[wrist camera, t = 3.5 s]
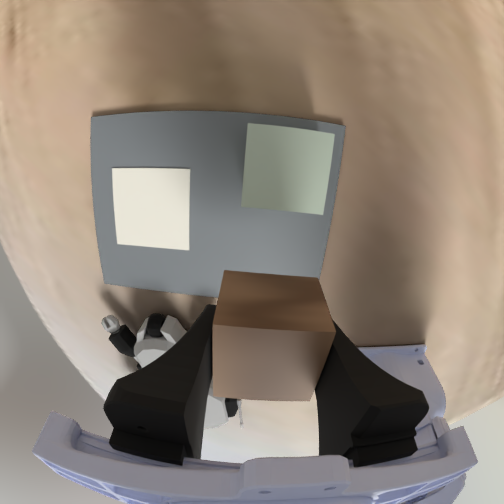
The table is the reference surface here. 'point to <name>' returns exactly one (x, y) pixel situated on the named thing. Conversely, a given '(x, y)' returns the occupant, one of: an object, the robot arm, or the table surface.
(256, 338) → the walnut block
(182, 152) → the board
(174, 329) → the robot toy
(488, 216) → the table surface
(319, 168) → the sage block
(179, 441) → the robot arm
